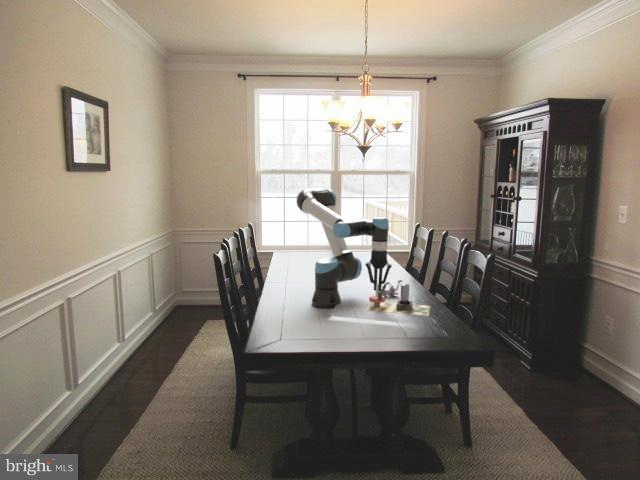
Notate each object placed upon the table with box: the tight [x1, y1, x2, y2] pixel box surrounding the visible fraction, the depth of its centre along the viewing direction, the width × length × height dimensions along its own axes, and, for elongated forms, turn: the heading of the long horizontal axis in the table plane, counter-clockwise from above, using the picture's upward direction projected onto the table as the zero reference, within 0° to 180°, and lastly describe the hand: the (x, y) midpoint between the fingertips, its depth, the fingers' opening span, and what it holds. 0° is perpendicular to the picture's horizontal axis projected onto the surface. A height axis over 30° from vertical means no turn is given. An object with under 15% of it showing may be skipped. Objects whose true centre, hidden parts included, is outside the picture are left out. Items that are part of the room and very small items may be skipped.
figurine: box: [374, 279, 403, 298], centre depth 242 cm, size 12×9×15 cm
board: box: [365, 299, 431, 317], centre depth 223 cm, size 30×16×4 cm, turn 73°
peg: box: [400, 283, 410, 305], centre depth 221 cm, size 4×4×12 cm
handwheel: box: [368, 291, 386, 307], centre depth 225 cm, size 8×8×8 cm
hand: (377, 297), depth 222 cm, fingers closed
